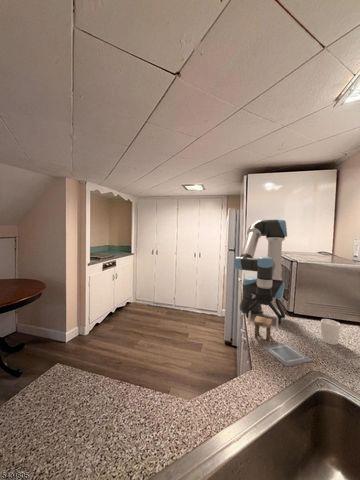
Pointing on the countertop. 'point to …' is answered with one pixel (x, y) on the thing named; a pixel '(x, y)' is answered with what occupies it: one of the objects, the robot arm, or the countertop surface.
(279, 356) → the mat
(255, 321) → the stool
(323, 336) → the white cup
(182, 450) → the countertop surface
